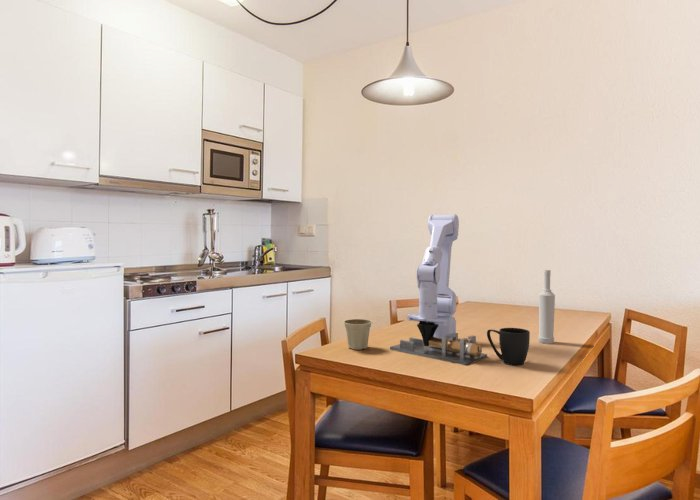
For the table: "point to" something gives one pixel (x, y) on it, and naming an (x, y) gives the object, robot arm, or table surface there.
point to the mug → (512, 345)
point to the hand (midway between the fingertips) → (427, 345)
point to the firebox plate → (433, 352)
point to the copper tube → (456, 346)
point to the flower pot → (357, 333)
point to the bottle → (546, 312)
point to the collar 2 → (463, 345)
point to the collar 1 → (445, 341)
